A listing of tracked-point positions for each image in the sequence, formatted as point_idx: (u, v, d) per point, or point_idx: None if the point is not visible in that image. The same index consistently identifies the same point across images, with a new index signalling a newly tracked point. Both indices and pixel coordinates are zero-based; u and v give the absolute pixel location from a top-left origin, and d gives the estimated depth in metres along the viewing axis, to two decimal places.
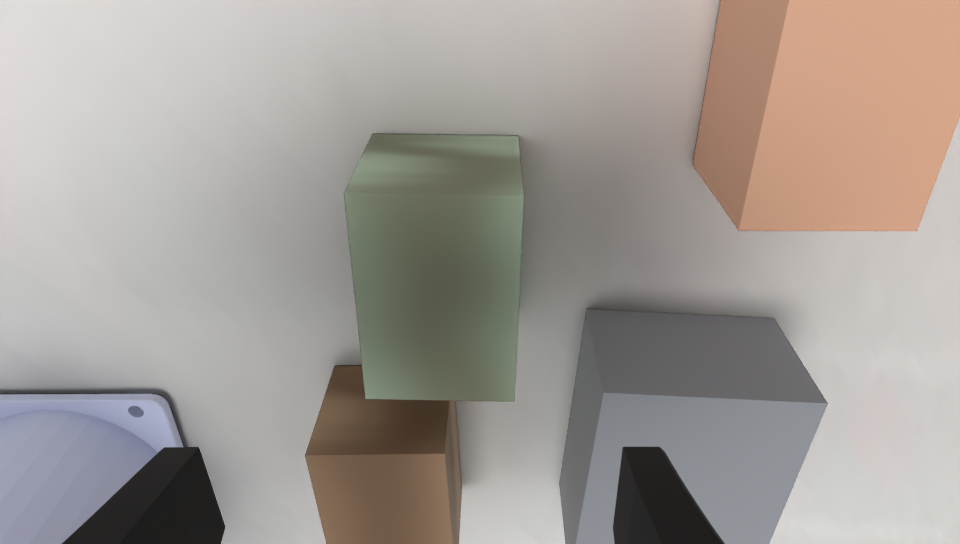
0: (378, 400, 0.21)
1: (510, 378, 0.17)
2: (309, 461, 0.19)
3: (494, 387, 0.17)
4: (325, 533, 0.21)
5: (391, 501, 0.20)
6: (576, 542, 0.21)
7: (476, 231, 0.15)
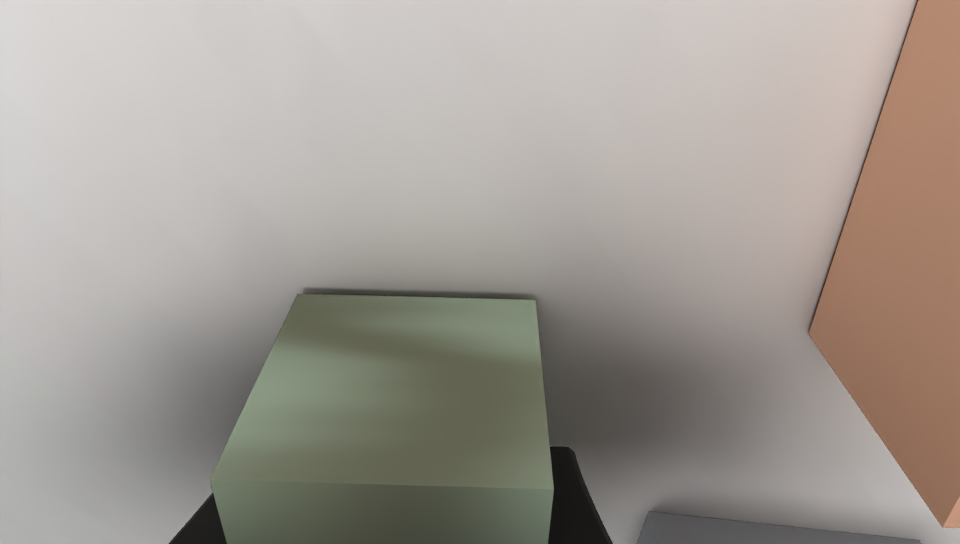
0: None
1: None
2: None
3: None
4: None
5: None
6: None
7: (464, 538, 0.08)
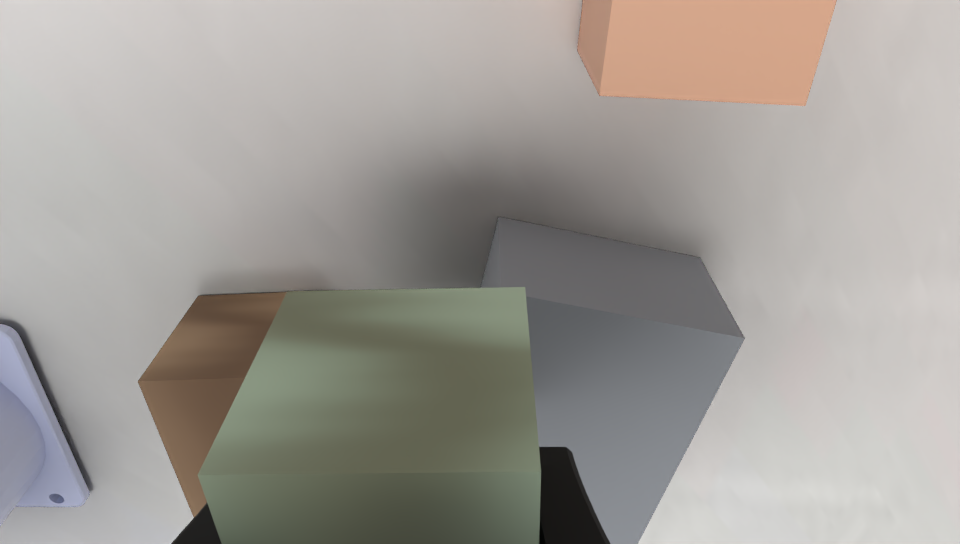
0: (236, 326, 0.19)
1: None
2: (143, 388, 0.17)
3: None
4: (178, 476, 0.18)
5: None
6: None
7: (455, 525, 0.08)
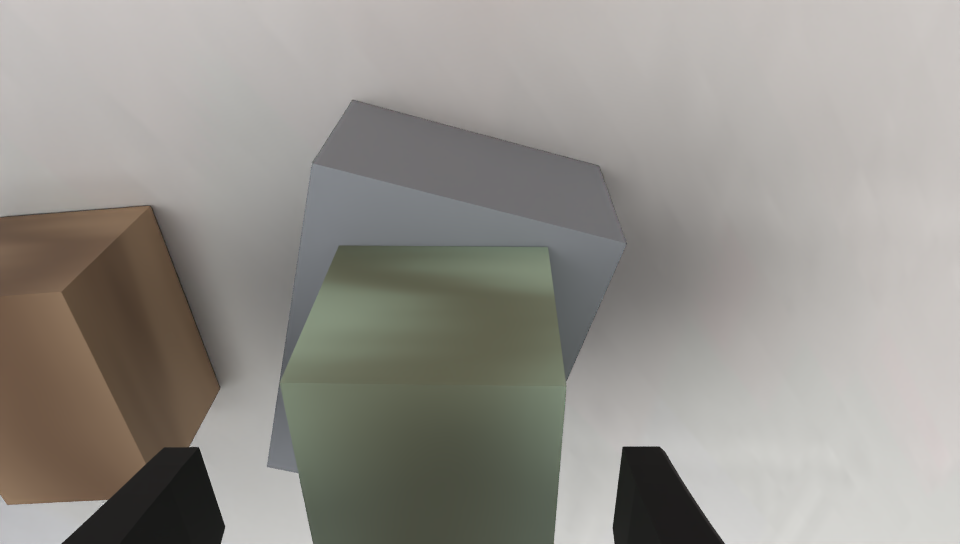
0: (22, 245, 0.15)
1: None
2: None
3: None
4: None
5: (23, 374, 0.14)
6: (276, 412, 0.15)
7: (492, 433, 0.10)
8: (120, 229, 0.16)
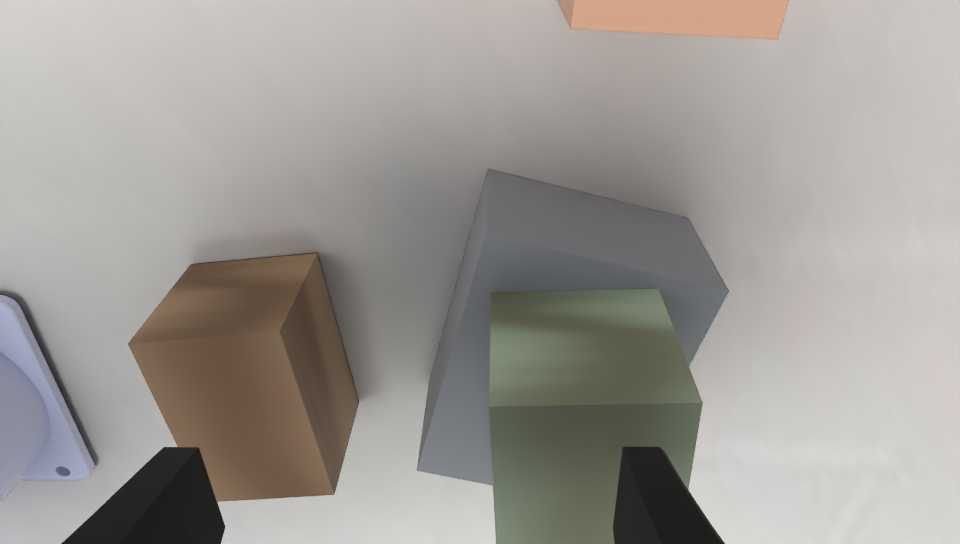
0: (225, 290, 0.19)
1: None
2: (134, 351, 0.17)
3: None
4: (176, 440, 0.19)
5: (237, 396, 0.18)
6: (430, 425, 0.18)
7: (643, 439, 0.13)
8: (301, 275, 0.19)
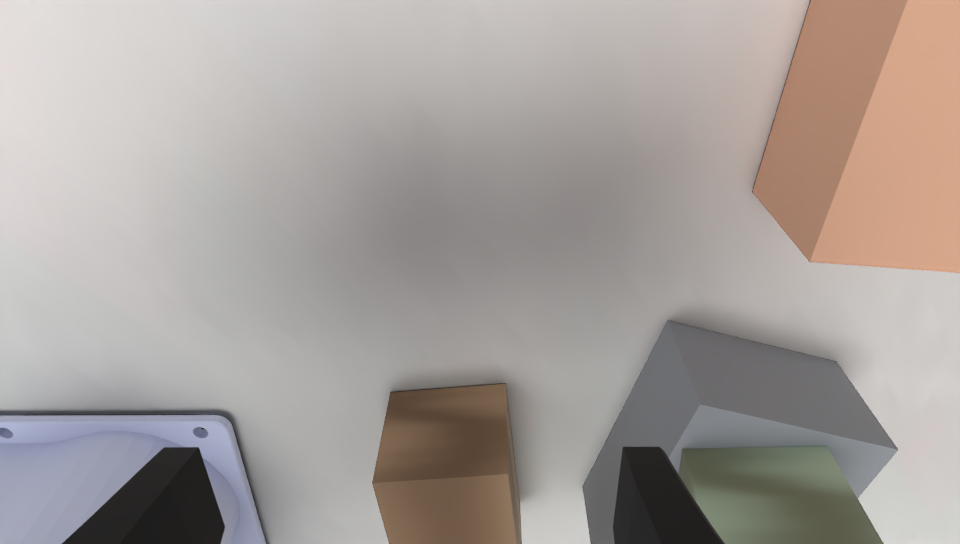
0: (437, 424, 0.21)
1: None
2: (376, 488, 0.20)
3: None
4: None
5: (458, 523, 0.20)
6: None
7: None
8: (501, 409, 0.22)
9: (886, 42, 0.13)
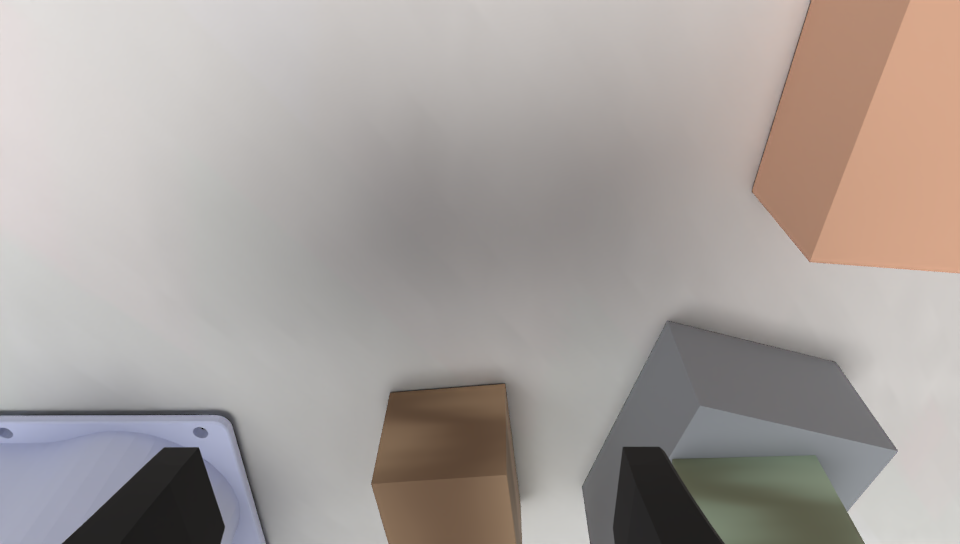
0: (436, 424, 0.21)
1: None
2: (375, 489, 0.20)
3: None
4: None
5: (457, 523, 0.20)
6: None
7: None
8: (500, 409, 0.22)
9: (888, 43, 0.13)
